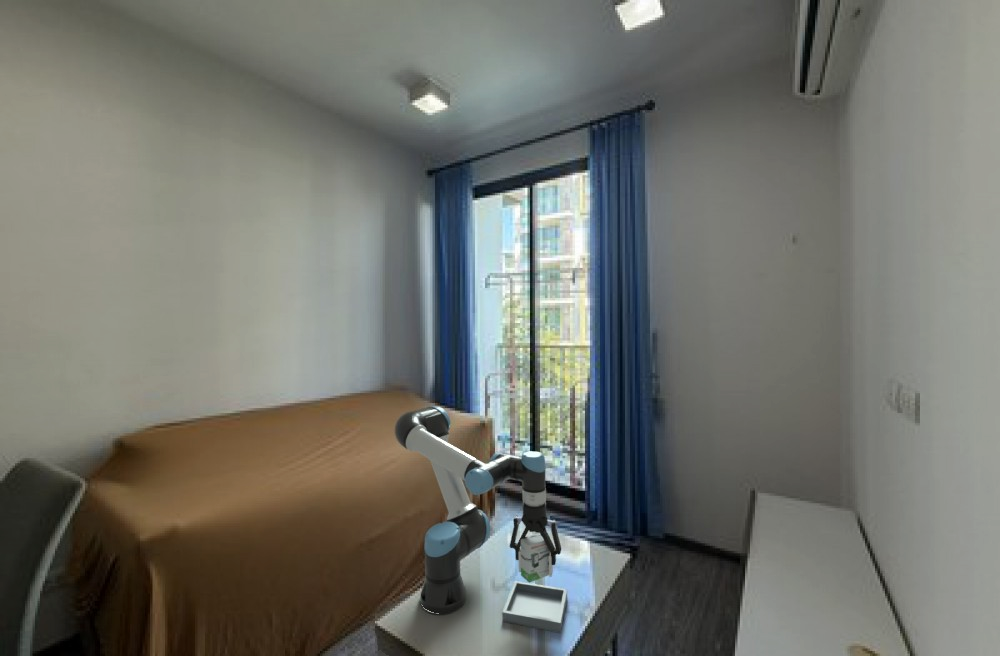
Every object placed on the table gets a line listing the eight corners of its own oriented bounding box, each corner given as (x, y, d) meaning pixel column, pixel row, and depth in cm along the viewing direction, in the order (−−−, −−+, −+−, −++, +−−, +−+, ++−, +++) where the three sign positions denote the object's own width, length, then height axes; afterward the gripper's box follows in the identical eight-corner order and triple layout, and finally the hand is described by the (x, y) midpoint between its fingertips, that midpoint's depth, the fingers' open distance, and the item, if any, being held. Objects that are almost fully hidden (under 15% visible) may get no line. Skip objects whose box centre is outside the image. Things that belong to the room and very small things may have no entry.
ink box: (528, 583, 126) (527, 545, 126) (520, 575, 131) (519, 538, 131) (551, 574, 130) (550, 538, 130) (542, 567, 135) (541, 531, 135)
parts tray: (502, 621, 125) (502, 612, 125) (514, 589, 141) (514, 580, 141) (560, 633, 120) (560, 622, 120) (567, 598, 136) (567, 589, 136)
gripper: (498, 503, 130) (499, 573, 130) (567, 510, 124) (568, 584, 124) (504, 494, 137) (506, 560, 137) (569, 500, 131) (571, 570, 131)
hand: (535, 571), depth 131 cm, fingers closed on ink box, 9 cm apart
